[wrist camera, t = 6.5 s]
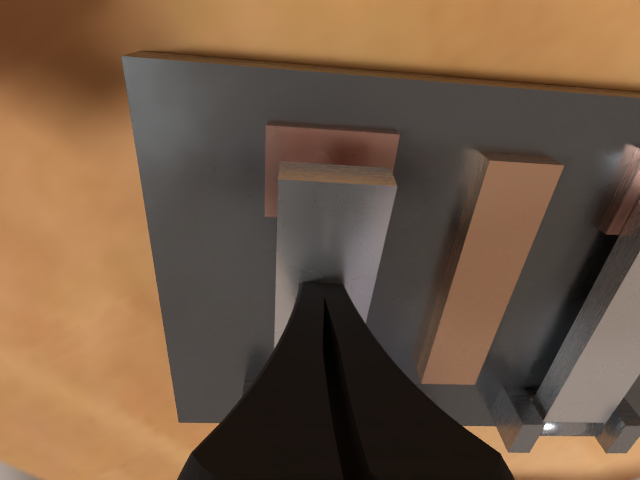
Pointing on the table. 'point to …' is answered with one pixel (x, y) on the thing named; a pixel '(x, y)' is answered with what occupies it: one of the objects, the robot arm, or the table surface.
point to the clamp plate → (404, 225)
